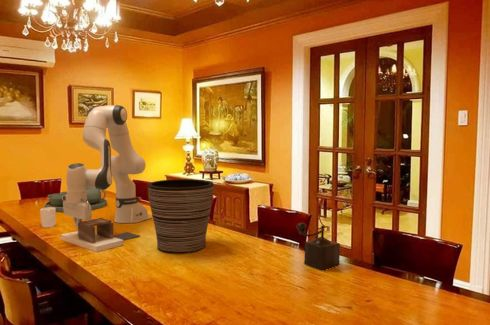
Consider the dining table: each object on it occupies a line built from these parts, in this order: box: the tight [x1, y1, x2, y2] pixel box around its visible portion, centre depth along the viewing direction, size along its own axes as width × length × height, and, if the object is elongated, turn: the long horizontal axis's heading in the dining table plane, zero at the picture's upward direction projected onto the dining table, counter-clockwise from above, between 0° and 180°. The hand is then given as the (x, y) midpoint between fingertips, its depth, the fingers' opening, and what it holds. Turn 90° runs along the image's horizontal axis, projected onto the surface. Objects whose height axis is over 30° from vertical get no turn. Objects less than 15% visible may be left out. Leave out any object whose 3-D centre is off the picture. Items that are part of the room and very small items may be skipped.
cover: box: [77, 217, 114, 243], centre depth 195 cm, size 11×12×8 cm
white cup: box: [39, 207, 57, 228], centre depth 229 cm, size 8×8×10 cm
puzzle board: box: [60, 230, 124, 253], centre depth 198 cm, size 14×32×2 cm, turn 51°
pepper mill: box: [296, 222, 341, 271], centre depth 165 cm, size 16×11×18 cm
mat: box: [113, 231, 141, 242], centre depth 208 cm, size 11×11×1 cm
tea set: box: [44, 188, 108, 213], centre depth 285 cm, size 40×40×16 cm
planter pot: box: [147, 178, 215, 255], centre depth 190 cm, size 30×30×30 cm
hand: (77, 226), depth 196 cm, fingers closed
